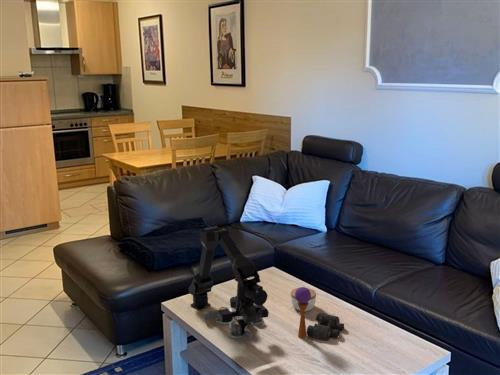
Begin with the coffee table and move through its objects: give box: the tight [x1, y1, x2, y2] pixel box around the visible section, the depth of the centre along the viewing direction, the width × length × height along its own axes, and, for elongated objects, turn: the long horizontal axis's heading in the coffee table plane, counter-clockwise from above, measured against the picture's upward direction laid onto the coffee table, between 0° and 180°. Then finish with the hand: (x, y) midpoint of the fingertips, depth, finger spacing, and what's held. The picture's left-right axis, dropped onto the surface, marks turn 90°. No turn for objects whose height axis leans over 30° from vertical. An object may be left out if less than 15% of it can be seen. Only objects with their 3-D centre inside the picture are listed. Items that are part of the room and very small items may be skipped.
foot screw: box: [203, 306, 229, 321], centre depth 200 cm, size 10×4×4 cm, turn 105°
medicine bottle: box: [228, 294, 250, 330], centre depth 196 cm, size 7×7×12 cm
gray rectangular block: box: [230, 321, 252, 340], centre depth 187 cm, size 10×4×4 cm, turn 39°
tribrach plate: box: [214, 318, 264, 340], centre depth 199 cm, size 19×20×1 cm
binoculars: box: [306, 312, 345, 341], centre depth 192 cm, size 11×16×6 cm
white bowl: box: [290, 287, 317, 313], centre depth 210 cm, size 11×11×9 cm
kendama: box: [295, 286, 311, 339], centre depth 186 cm, size 6×6×20 cm
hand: (241, 334), depth 184 cm, fingers closed, pressing on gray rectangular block
